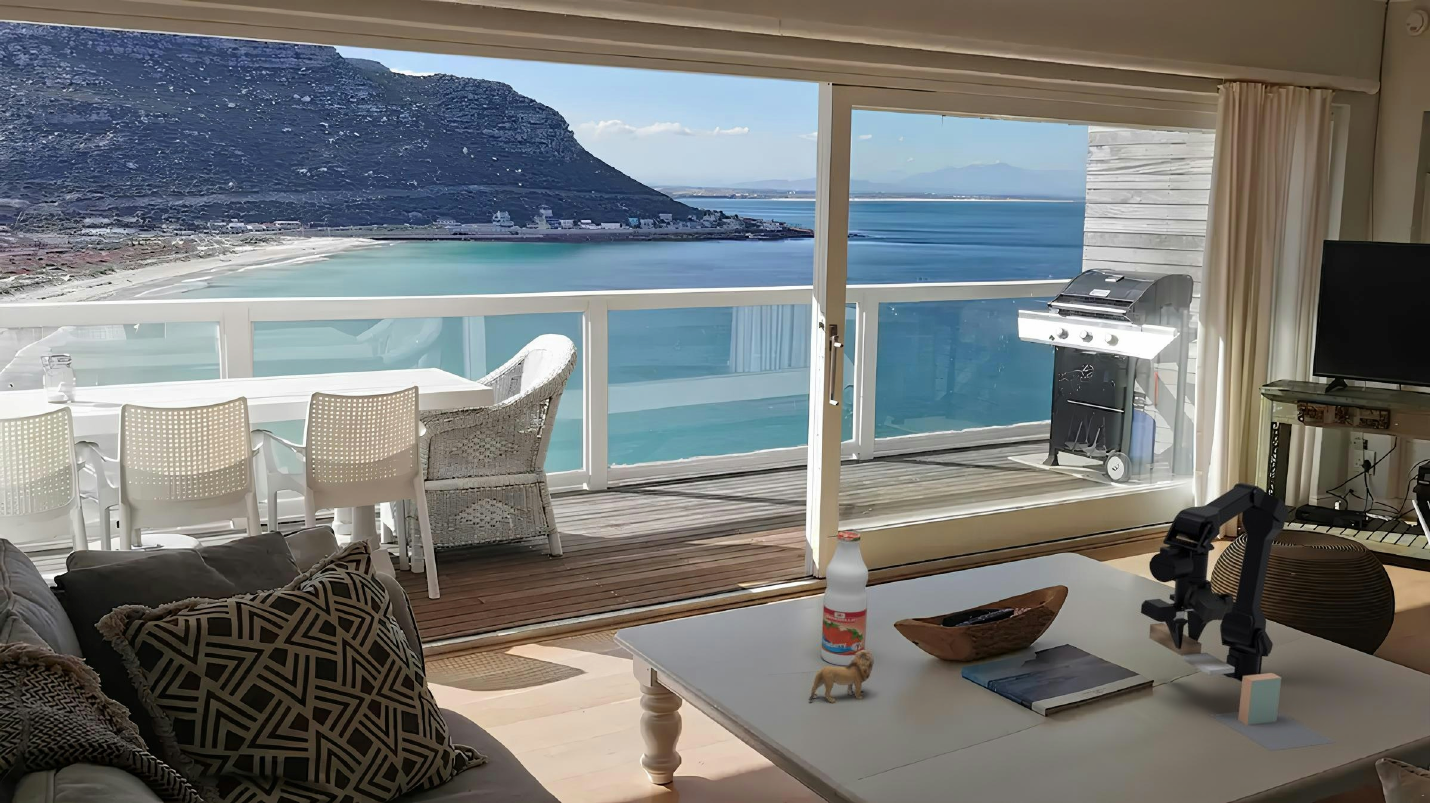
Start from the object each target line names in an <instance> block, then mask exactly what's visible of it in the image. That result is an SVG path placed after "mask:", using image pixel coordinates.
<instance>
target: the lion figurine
mask: <svg viewBox="0 0 1430 803" xmlns="http://www.w3.org/2000/svg"><path fill="white" fill-rule="evenodd" d="M874 663H875V661H874V657H873V653H872V651H871V652H870V651H869V650H866V649H865V650H861V651H858V652H857V653H855V658H854V659H853V660H852V661H851V663H850V664H849V665H845V666H840V667H839V666H837V667H836V666H831V665H827V666H823V667H822V668H820V670H819V671H818V672H817V674H816V675H815V677H814V681H813V686H812V688H811V693H810V697H809V698H808V702H809V701H813V699H818V693H816V692H817V690H818V689H819V688H820V687H822V686H823V685H824V687H825V693H824V696H825V697H826V698H827V701H828V702H829V703H833V704H834V703H836V699H835V698H832V696H831V692H832V689H833V687H834V684H836V685H838V686H847V691H846V692H847V694H848V695H854V696H855V698H856V699H858V700H862V699H863V696H862V695H860V694H861V691H862V690H861V689H862V683H864V682H866V681H868V680H869V678H870V676H871V673H872V671H873V666H874ZM853 686H854V687H855V692H854V690H853Z"/></svg>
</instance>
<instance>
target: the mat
mask: <svg viewBox="0 0 1430 803" xmlns="http://www.w3.org/2000/svg"><path fill="white" fill-rule="evenodd" d="M1209 717H1212V718H1213V719H1215V720H1217V721H1219V722H1220V723H1222V724H1223V725H1225V726H1227V727H1229V728H1230V729H1232V730H1234V731H1236V732H1237V733H1239V734H1240V735H1242V736H1244V737H1246V738H1247V739H1249V740H1251V741H1253V743H1254V742H1255V743H1256V744H1258V745H1260V746H1261V747H1263V748H1264V749H1267V750H1268V751H1270V752H1273V751H1281V750H1289V749H1297V748H1305V747H1310V746H1312V747H1313V746H1318V745H1327V744H1334V743H1336V741H1334V740H1332V739H1330V738H1328V737H1326V736H1324V735H1323V734H1322V733H1319V732H1317V731H1315V730H1313V729H1312V728H1309V727H1308V726H1307V725H1304V724H1302V723H1300V722H1298V721H1296V720H1295V719H1293V718H1291V717H1289V716H1287V715H1285V714H1283V713H1282V712H1280V711H1278V713H1277V722H1269V723H1261V724H1252V725H1246V724H1244V723H1243V722H1241V721H1239V720H1238V717H1239V711H1233V712H1224V713H1223V712H1222V713H1216V714H1209Z"/></svg>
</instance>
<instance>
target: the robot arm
mask: <svg viewBox="0 0 1430 803" xmlns="http://www.w3.org/2000/svg"><path fill="white" fill-rule="evenodd" d="M1240 514H1241V524H1242V526H1243V529H1244V531H1245V534H1246V541H1245V546H1244V553H1243V557H1242V562H1241V568H1240V573H1239V579H1238V585H1237V590H1236V591H1237V592H1236V594H1235V600H1234V596H1233V595H1232V594H1231V593H1229V592H1226V593H1219V592H1213V590H1212V588H1213V587H1212V581H1210V580H1208V579H1207V577H1208V566H1209V552H1210V551H1214V550H1215V545H1213V544H1212V542H1213V541H1214V540H1215V539H1216V538H1217V537H1218V536H1219V535H1220V534H1221V527H1222V526H1223V525H1225V524H1226V523H1228V522H1229V521H1231V520H1233V519H1234V518H1235V517H1237V516H1239V515H1240ZM1288 516H1289V508H1288V506H1287V505H1286V502H1285V501H1284V500H1283V499H1279V498H1277V497H1275V496H1273V495H1272V494H1270V493H1268V492H1266V490H1264V489H1263V488H1261V487H1260V486H1258V485H1254V484H1253V485H1252V484H1249V483H1244V482H1239V483H1236V484H1234V485H1233V487H1232V488H1231V489H1230V490H1228V491H1226V492H1225V493H1223V494H1222V495H1220V496H1219V497H1217V498H1215V499H1213V500H1212V501H1210V502H1208V503H1207V504H1204V505H1201V506H1191V507H1187V508H1184V509H1182V510H1180V511H1179V512H1178V513H1177V515H1176V516H1174V519H1173V521H1172V523H1171V525H1170V527H1169V529H1168V531H1167V533H1166V534H1165V537H1164V540H1163V542H1162V543H1163V544H1164V546H1160V547H1159V553H1156V554H1154V555H1152V557H1151V559H1150V561H1149V571H1150V574H1151V575H1152V577H1153V578H1154V579H1155V580H1156V581H1158V582H1160V583H1169V582H1172V581H1173V582H1174V592H1173V593H1171V594H1169V600H1171V601H1173V602H1172V603H1169V602H1167V601H1165V600H1163V599H1160V598H1154V599H1145V600H1144V601H1143V602H1141V605H1140V606H1141V608H1140V613H1141V614H1142V615H1144V616H1146V617H1148V618H1150V619H1152V620H1154V621H1156V622H1158V623H1164V624H1165V625H1167V627H1168V629H1169V631H1170V634H1171V636H1172V639H1173V641H1174V644H1175V647H1176V648H1178V649H1181V645H1182V640H1183V634H1184V628H1185V625H1186V624H1187V632H1188V633H1187V636H1188V637H1190V638H1192V639H1194V640H1196V641H1198V642H1199V639H1200V637H1201V635H1202V633H1203V631H1204V630H1205V628H1206V627H1207V625H1208V624H1209V623H1210V622H1212V621H1221V622H1220V625H1219V629H1220V630H1219V631H1220V638H1221V645H1222V646H1224V647H1225V646H1226V647H1229V648H1228V653H1227V655H1226V662H1225V663H1227V664H1229V665H1231V666H1233V667H1235V669H1234V672H1233V673H1225V674H1224V675H1225V676H1228V677H1230V678H1233V679H1236V680H1238V681H1240V682H1242V680H1243V676H1247V675H1257V674H1262V665H1263V664H1262V663H1263V657H1269V654H1271V652H1272V649H1273V645H1274V643H1273V641H1272V640H1271V638H1270V636H1269V634H1268V633H1267V631H1266V628H1267V627H1266V626H1267V619H1266V617H1265V614H1264V612H1263V609H1262V607H1261V604H1262V598H1263V593H1264V588H1265V585H1266V584H1265V583H1266V577H1267V572H1268V567H1269V560H1270V556H1271V550H1272V545H1273V542H1274V541H1273V540H1274V539H1275V538H1276V537H1277V536H1278V535H1279V534H1280V533H1281V532H1282V531H1283V529H1284V528H1285V527H1284V526H1285V524H1286V521H1287V519H1288ZM1166 545H1167V546H1166ZM1185 613H1186V616H1187V619H1186V618H1185Z"/></svg>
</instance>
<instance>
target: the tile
mask: <svg viewBox="0 0 1430 803" xmlns="http://www.w3.org/2000/svg"><path fill="white" fill-rule="evenodd" d="M1281 686H1282V677H1281V676H1279V675H1277V674H1276V673H1274V672H1268V673H1261V674H1257V675H1247V676H1243V680H1242V681H1241V690H1240V699H1239V700H1240V701H1239V710H1238V712H1239V717H1238V720H1239V721H1241V722H1243V723H1244V724H1246V725H1252V724H1261V723H1269V722H1277V713H1278V712H1279V703H1280V695H1281V694H1280V693H1281Z"/></svg>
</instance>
